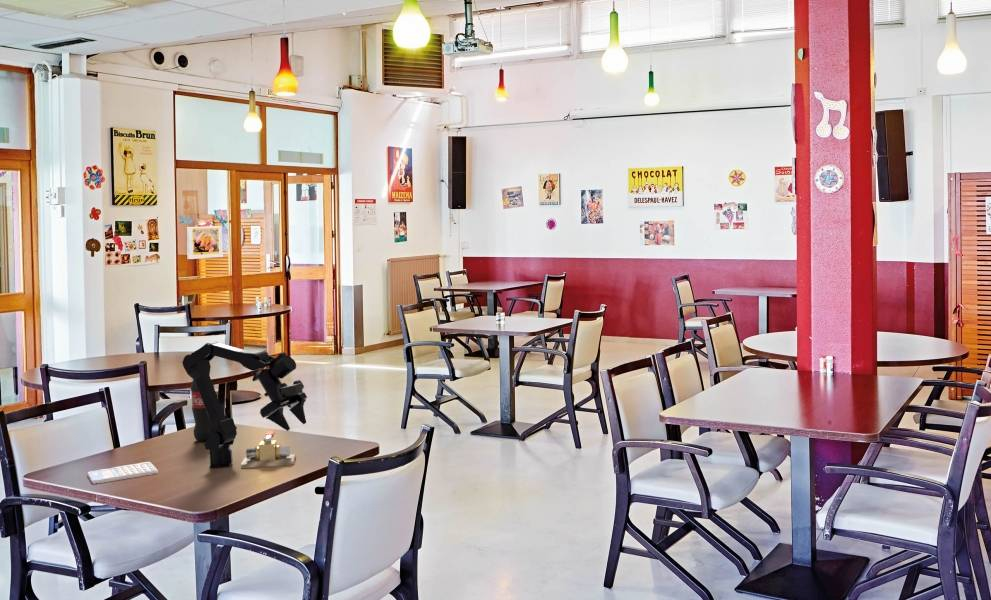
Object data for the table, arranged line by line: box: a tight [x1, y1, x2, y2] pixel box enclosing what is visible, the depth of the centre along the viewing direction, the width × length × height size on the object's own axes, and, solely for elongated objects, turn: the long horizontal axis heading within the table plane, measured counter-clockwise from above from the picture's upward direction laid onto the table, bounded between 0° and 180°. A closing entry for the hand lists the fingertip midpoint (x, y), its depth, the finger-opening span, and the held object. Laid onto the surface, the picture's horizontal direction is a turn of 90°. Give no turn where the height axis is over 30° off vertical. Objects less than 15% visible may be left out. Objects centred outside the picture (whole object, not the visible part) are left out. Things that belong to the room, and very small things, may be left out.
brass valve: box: [245, 439, 291, 462], centre depth 309 cm, size 14×5×6 cm, turn 97°
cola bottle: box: [190, 379, 215, 443], centre depth 343 cm, size 8×8×30 cm
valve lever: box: [263, 429, 276, 442], centre depth 314 cm, size 12×3×1 cm, turn 7°
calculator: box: [87, 461, 159, 485], centre depth 302 cm, size 13×20×2 cm, turn 121°
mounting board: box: [240, 453, 297, 469], centre depth 309 cm, size 17×9×1 cm, turn 97°
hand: (297, 426), depth 295 cm, fingers open, 9 cm apart
